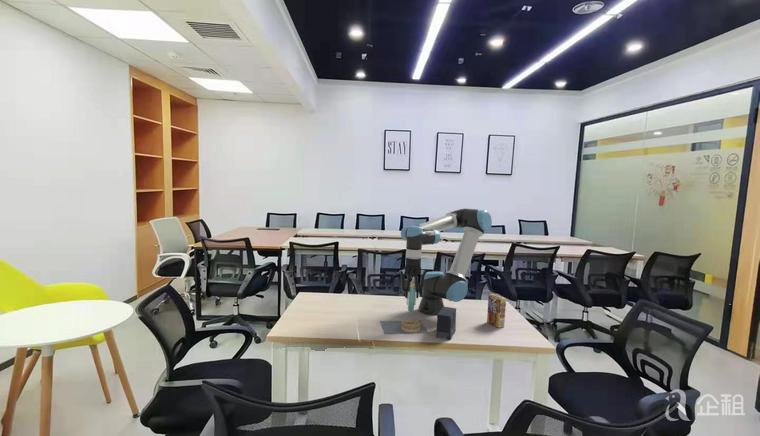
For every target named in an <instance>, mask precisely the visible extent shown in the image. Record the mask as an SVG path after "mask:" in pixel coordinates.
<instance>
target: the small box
mask: <svg viewBox="0 0 760 436" xmlns="http://www.w3.org/2000/svg"><path fill="white" fill-rule="evenodd" d="M456 322H457V308H455V307H450V306H444V307H443V308H442V309H441V310H440V312H439V313H438V314H437V315H436V338H438V339H442V340H443V339H444V340H447V341H451V340H452V338H453V336H454V334H455V333H456V331H457V330H456V329H457V328H456V327H457V323H456Z"/></svg>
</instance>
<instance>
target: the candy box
mask: <svg viewBox="0 0 760 436" xmlns="http://www.w3.org/2000/svg"><path fill="white" fill-rule="evenodd" d="M506 307H507V298H506V297H504V296H500V295H498V294H495V293H491V294H488V303H487V315H486V317H487V318H486V323H488V324H490V325H492V326H494V327H496V328H497V329H498V328H499V329H500V328H504V327H505V320H506Z"/></svg>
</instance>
